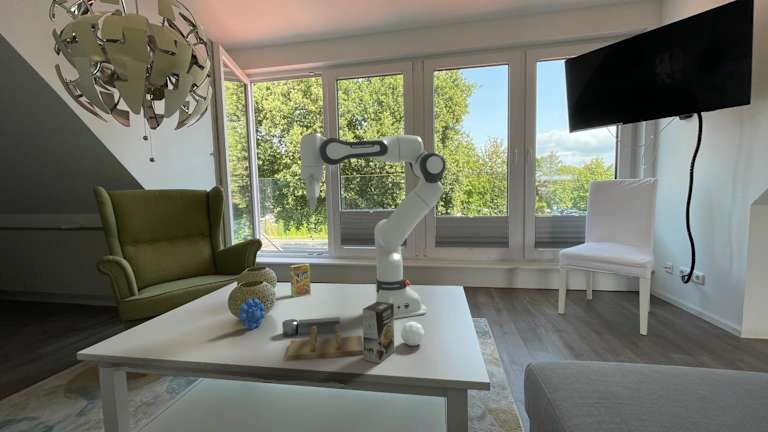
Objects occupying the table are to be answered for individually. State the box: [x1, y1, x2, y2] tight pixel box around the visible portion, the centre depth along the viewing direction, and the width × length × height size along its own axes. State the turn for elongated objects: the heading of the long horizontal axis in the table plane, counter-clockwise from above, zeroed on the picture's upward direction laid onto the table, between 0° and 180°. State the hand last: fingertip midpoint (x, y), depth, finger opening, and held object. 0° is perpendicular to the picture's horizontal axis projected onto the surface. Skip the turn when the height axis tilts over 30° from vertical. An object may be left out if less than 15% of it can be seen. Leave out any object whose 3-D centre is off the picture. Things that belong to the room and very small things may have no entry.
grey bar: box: [281, 316, 341, 338], centre depth 131 cm, size 21×6×4 cm, turn 97°
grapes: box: [238, 298, 266, 330], centre depth 135 cm, size 12×7×12 cm, turn 148°
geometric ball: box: [400, 321, 425, 347], centre depth 119 cm, size 8×8×8 cm
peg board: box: [285, 324, 363, 361], centre depth 117 cm, size 24×11×6 cm, turn 97°
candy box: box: [289, 263, 311, 298], centre depth 177 cm, size 9×4×15 cm, turn 126°
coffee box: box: [362, 301, 395, 364], centre depth 112 cm, size 9×6×16 cm
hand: (313, 209), depth 143 cm, fingers open, 8 cm apart
